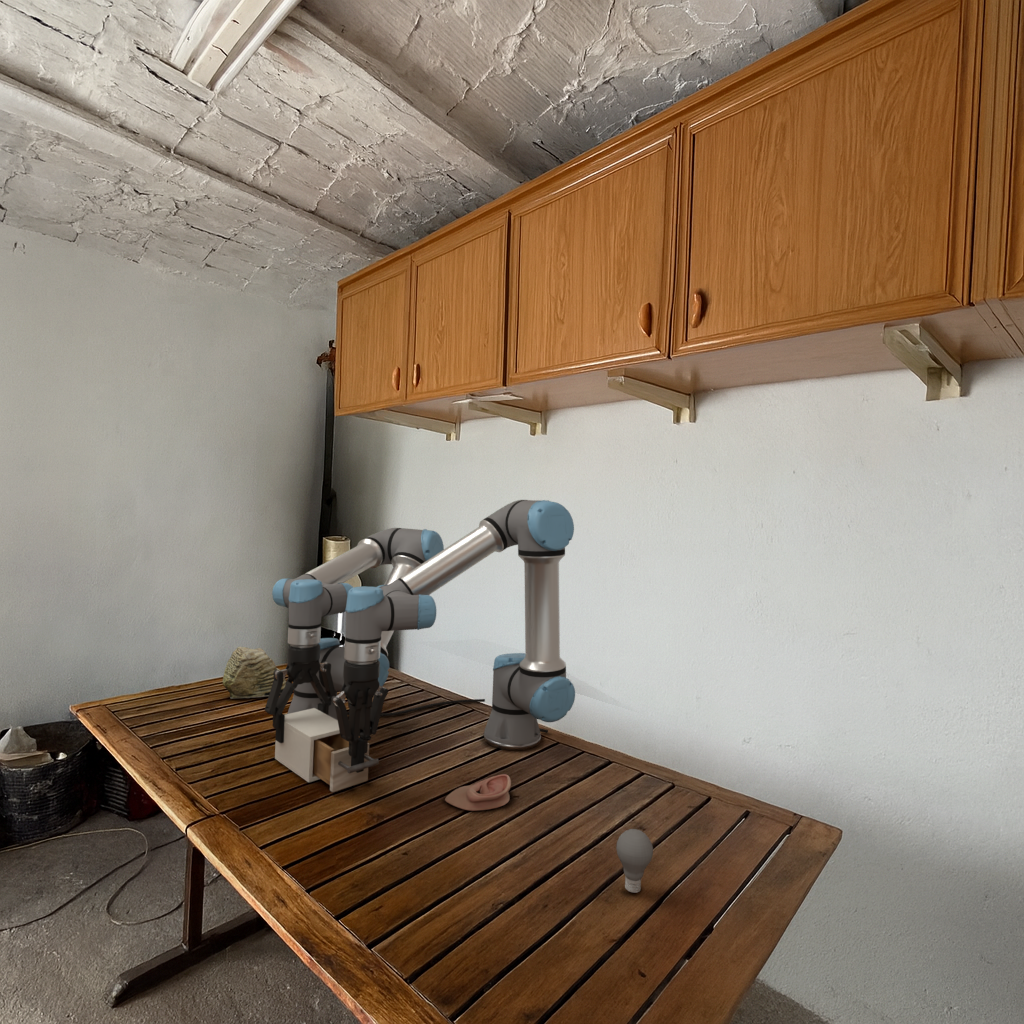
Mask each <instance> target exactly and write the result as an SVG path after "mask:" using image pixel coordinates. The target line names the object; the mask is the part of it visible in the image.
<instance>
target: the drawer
mask: <svg viewBox="0 0 1024 1024" xmlns="http://www.w3.org/2000/svg"><path fill="white" fill-rule="evenodd" d="M348 752H349V741H346V740H344V739H343V738H341V736H340V733H339V734H335V735H332V736H328V737H324V738H320V739H316V740H314V751H313V774H314V775H316V776H317V777H318V778H320V779H319V780H321V781H323V782H324V783H326V784H327V785H328V786H329V791H330V792H331V793H335V792H338V791H341V790H344V789H347V788H350V787H352V786H353V787H354V786H356V785H359V784H362V783H365V782H368V781H369V768H372V767H375V766H378V765H379V763H380V760H379V758H373V757H371V756H370V743H369V742H368V749H367V753H365V754H364V763H360V764H357V765H354V766H351V756H350V755H349V753H348ZM362 769H364V771H362V772H359V773H357V772H356V771H359V770H362Z"/></svg>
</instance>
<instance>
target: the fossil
mask: <svg viewBox="0 0 1024 1024" xmlns="http://www.w3.org/2000/svg"><path fill="white" fill-rule="evenodd" d="M275 670H280V669H279V668H278V667H277V665H276V663H275V662H274V660H273V659H272V658H271V657H270V656H269V655H268V654H267V653H266V652H265V650H264V649H263V648H260V647H258V648H251V647H247V646H246V647H245V646H238V647H237V648H236V649H235V650H233V651H232V653H231V656H230V657H229V659H228V660H227V663H226V666H225V668H224V671H223V675H222V676H223V677H222V685H223V687H224V688H225V690H226V691H228V693H229V698H230V699H250V698H264V697H269V694H270V691H271V687H272V684H273V681H274V671H275ZM286 681H287V680H286V678H285V679H283V685H282V688H281V691H280V694H281V693H282V691H283V689H284V687H285V685H286Z"/></svg>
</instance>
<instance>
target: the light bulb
mask: <svg viewBox="0 0 1024 1024" xmlns="http://www.w3.org/2000/svg"><path fill="white" fill-rule="evenodd" d="M615 849H616V854H617V857H618V859H619V861H620V863H621V865H622V867H623V873H624V874H623V875H624V876H625V878H624V888H625V890H627V891H628V892H630V893H634V894H635V893H639V892H640V891H641V889H642V887H641V886H642V879H643V877H644V875H645V871H646V868H647V867H648V866H649V864H650V863H651V861H652V859H653V855H654V847H653V843H652V841H651V838H649V836H648V835H647V834H646V833H645V832H643V831H642V830H641V829H636V828H629V829H627V830H625V831H623V832H622V833H621V834H620V835H619V837H618V839H617V841H616V847H615Z"/></svg>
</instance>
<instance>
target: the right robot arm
mask: <svg viewBox="0 0 1024 1024" xmlns="http://www.w3.org/2000/svg"><path fill="white" fill-rule="evenodd" d="M574 532H575V524H574V520H573V516H572V514H571V513H570V511H569V510H568V509H567V508H566V507H565V506H564V505H562V504H561V503H559V502H555V501H551V500H547V499H540V500H539V499H538V500H537V499H536V500H535V499H534V500H532V499H518V500H515V501H512V502H509V503H508V504H505V505H504V506H502V507H501V508H499V509H497V510H496V511H494V512H492V513H491V514H489V515H488V516H486V517H485V518H484V519H483V518H482V519H481V520H480V521H479V523H478V527H477V528H475V529H473V530H472V531H470V532H469V533H467V534H466V535H464V536H463V537H460V538H459V539H458V540H456V541H455V542H453V543H451V544H450V545H448V546H447V547H444V550H442V551H441V552H439V553H438V554H436V555H435V556H433V557H432V558H430V559H428V560H427V561H425V562H424V563H422V564H421V565H419V566H418V567H416V568H414V569H413V570H411V571H410V572H408V573H407V574H405V575H404V576H402V577H400V578H399V579H397V580H395V581H394V582H392V583H391V584H389V585H384V584H381V585H377V586H367V585H365V586H363V585H361V586H353V588H352V589H350V590H349V592H348V596H347V604H346V612H345V633H344V634H345V636H344V647H345V648H344V659H346V661H345V662H344V671H343V678H344V684H343V687H342V692H339V693H337V696H333V697H332V698H331V701H332V703H333V704H334V706H335V709H336V715H337V720H338V725H339V731H340V736H341V738H343V739H344V740H346V741H349V752H348V753H349V755H350V756H351V766H354V765H357V764H360V763H364V754H365V753H367V749H368V743H369V741H371V740H372V736H373V735H376V733H377V732H378V728H379V723H380V719H381V717H380V716H381V714H382V711H383V707H384V703H385V700H386V698H387V696H388V694H389V689H388V688H386V687H384V686H380V683H379V681H378V678H379V674H380V662H379V660H378V659H379V658H380V648H381V633H382V631H394V632H395V631H412V630H417V631H419V630H424V629H430V628H432V627H433V626H434V625H435V622H436V619H437V605H436V601H435V599H434V597H433V596H431V594H433V593H435V592H436V591H438V590H439V589H441V588H442V587H444V586H446V585H447V584H448V583H450V582H451V581H453V580H454V579H456V578H457V577H458V576H460V575H461V574H463V573H465V572H466V571H468V570H469V569H472V567H473V566H475V565H477V564H479V563H480V562H481V561H483V560H484V559H486V558H487V557H489V556H490V555H492V554H493V553H495V552H496V553H502V552H503V551H505V550H507V549H508V548H510V547H514V546H517V556H518V558H519V559H521V560H522V561H523V563H524V566H523V567H524V641H525V645H524V646H525V647H524V648H525V649H524V650H525V652H513V653H512V652H511V653H510V652H509V653H503V654H498V655H497V656H496V657H495V658H494V661H493V666H492V667H493V668H492V673H493V674H492V698H491V699H492V700H491V712H490V714H489V716H488V719H487V722H486V725H485V727H484V732H483V740H484V742H485V743H486V744H487V745H489V746H490V747H494V748H496V749H500V750H506V751H524V750H525V751H526V750H530V749H534V748H535V747H537V746H539V745H540V743H541V739H542V735H541V733H545V734H548V733H549V730H548V729H545V728H540V725H539V722H538V720H539V721H542V722H544V723H554V722H558V721H560V720H561V719H563V718H564V717H566V716H567V714H568V712H569V711H571V710H572V707H573V705H574V703H575V700H576V688H575V685H574V684H573V682H572V681H571V680H570V679H569V678H567V663H566V661H565V660H564V659H563V658H562V657H561V640H560V639H561V637H560V636H561V634H560V633H561V632H560V631H561V630H560V629H561V627H560V626H561V625H560V623H561V622H560V620H561V619H560V618H561V617H560V562H561V560H562V559H563V558H564V557H565V556H566V547H567V546H568V545H569V544H570V541H572V540H573V537H574ZM346 700H347V702H346ZM346 703H347V706H346ZM347 707H348V710H347ZM347 712H349V715H347ZM362 771H364V769H362V770H359V771H356V772H357V773H359V772H362Z"/></svg>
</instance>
